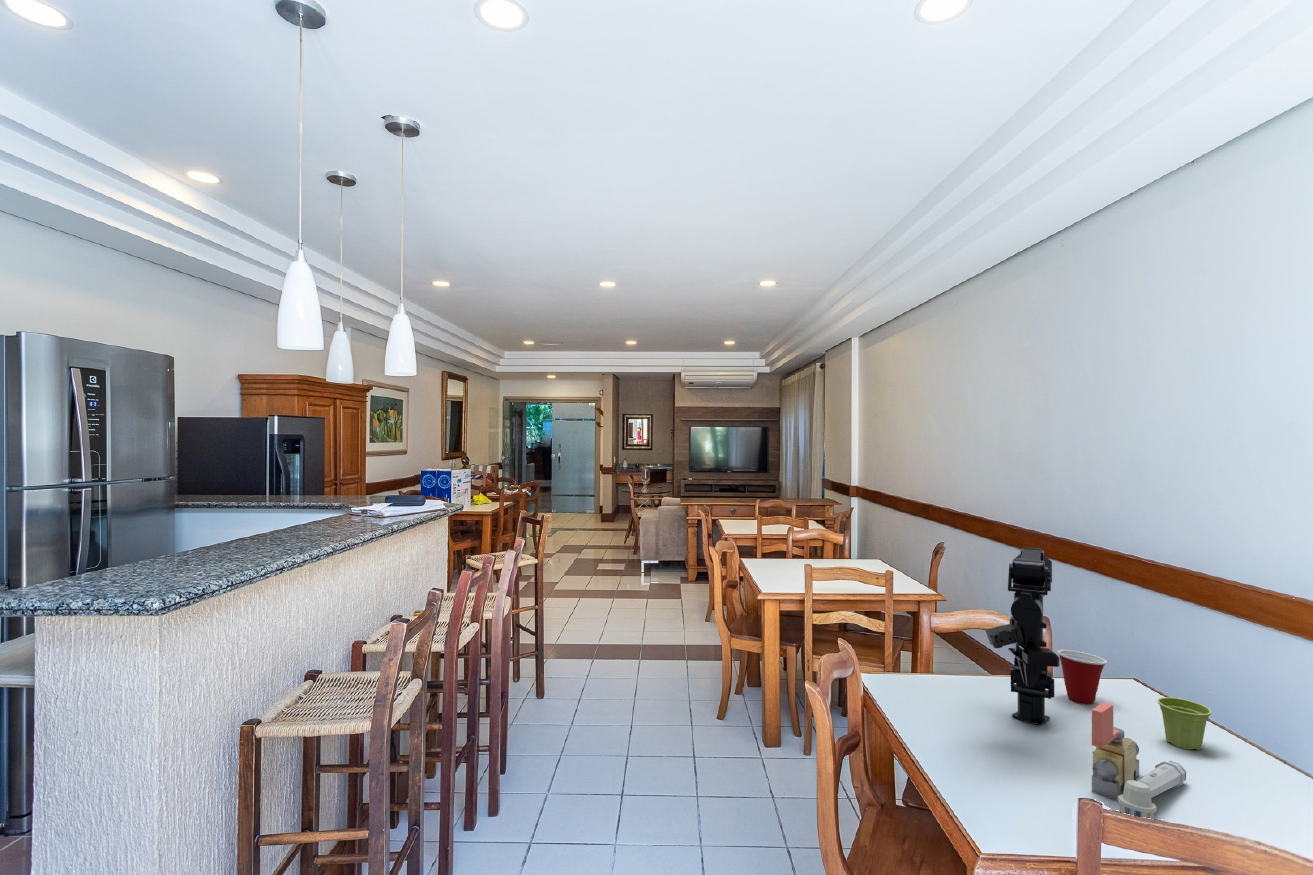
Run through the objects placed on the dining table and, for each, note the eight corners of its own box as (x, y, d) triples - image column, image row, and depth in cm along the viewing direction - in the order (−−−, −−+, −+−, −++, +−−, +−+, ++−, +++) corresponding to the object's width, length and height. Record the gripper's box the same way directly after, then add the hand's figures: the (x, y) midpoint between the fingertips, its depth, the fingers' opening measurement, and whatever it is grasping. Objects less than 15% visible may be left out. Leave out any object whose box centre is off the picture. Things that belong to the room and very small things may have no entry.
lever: (1108, 730, 127) (1108, 695, 127) (1126, 735, 125) (1126, 700, 125) (1087, 745, 121) (1087, 708, 121) (1106, 751, 118) (1106, 713, 118)
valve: (1114, 765, 133) (1114, 720, 133) (1142, 774, 129) (1142, 728, 129) (1089, 791, 122) (1089, 742, 122) (1118, 801, 119) (1118, 751, 119)
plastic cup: (1117, 709, 162) (1117, 661, 162) (1074, 708, 162) (1074, 660, 162) (1089, 693, 173) (1089, 648, 173) (1048, 692, 173) (1048, 647, 173)
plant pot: (1212, 744, 143) (1212, 705, 143) (1210, 758, 136) (1210, 717, 136) (1159, 731, 149) (1159, 693, 150) (1155, 744, 143) (1155, 705, 143)
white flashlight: (1191, 765, 125) (1150, 787, 110) (1190, 801, 125) (1148, 827, 110) (1158, 755, 129) (1114, 774, 114) (1157, 789, 129) (1112, 813, 114)
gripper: (977, 604, 156) (977, 669, 155) (1003, 623, 137) (1002, 697, 137) (1028, 607, 153) (1028, 672, 153) (1060, 627, 135) (1060, 702, 135)
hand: (1028, 685), depth 145 cm, fingers closed
